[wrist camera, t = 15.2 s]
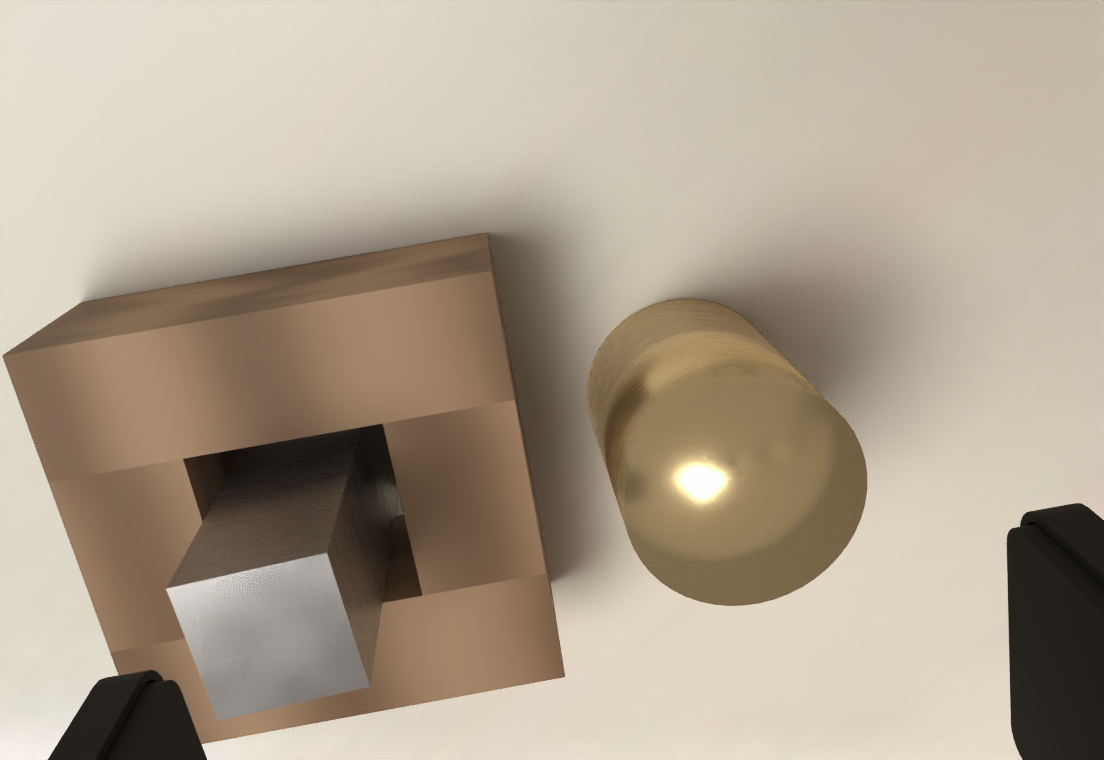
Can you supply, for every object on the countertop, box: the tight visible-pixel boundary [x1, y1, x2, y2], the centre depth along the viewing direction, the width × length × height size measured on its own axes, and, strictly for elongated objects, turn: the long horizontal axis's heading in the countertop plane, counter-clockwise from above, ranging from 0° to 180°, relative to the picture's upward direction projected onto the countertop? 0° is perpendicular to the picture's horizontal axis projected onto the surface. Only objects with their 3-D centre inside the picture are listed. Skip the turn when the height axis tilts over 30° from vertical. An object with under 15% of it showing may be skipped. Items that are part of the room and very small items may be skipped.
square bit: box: [166, 424, 399, 721], centre depth 30 cm, size 4×4×12 cm
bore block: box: [3, 233, 565, 744], centre depth 33 cm, size 14×14×6 cm
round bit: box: [587, 299, 867, 606], centre depth 32 cm, size 7×7×9 cm
